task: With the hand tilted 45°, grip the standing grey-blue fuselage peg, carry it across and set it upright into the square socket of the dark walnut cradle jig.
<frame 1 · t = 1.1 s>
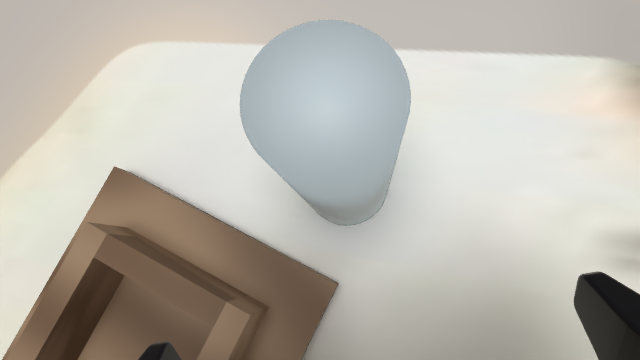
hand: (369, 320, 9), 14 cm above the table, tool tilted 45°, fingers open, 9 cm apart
cradle jig: (166, 339, 23), on the table
fuselage peg: (346, 184, 24), on the table
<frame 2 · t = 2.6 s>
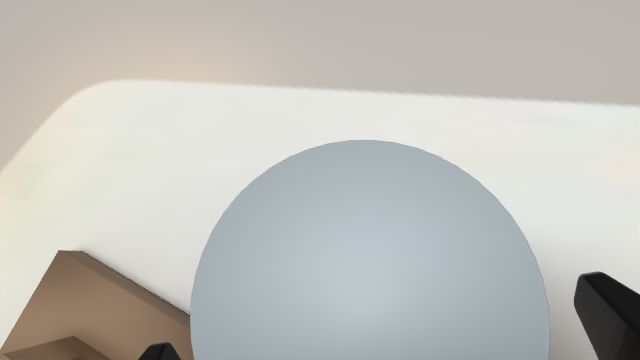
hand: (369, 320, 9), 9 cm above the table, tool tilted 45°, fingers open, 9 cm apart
fuselage peg: (365, 276, 18), on the table
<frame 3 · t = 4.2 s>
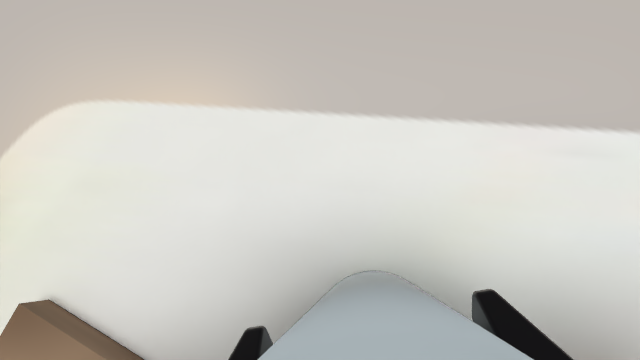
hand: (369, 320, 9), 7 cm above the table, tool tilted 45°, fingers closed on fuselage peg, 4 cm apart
fuselage peg: (375, 333, 16), on the table, touching gripper
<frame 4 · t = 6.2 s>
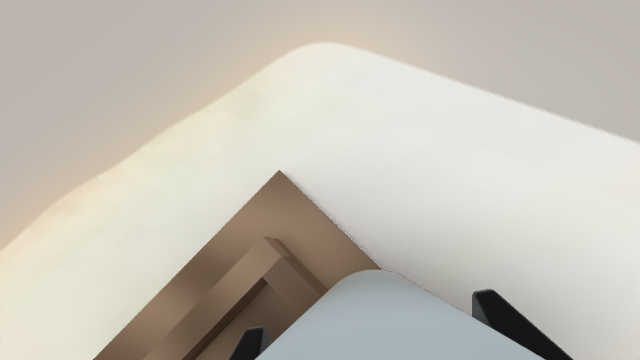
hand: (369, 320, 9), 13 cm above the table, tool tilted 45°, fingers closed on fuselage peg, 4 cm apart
fuselage peg: (376, 332, 16), point 7 cm above the table, touching gripper
when the fingers open (9 cm above the table, at t = 8.3 s): fuselage peg drops 1 cm, resting on cradle jig.
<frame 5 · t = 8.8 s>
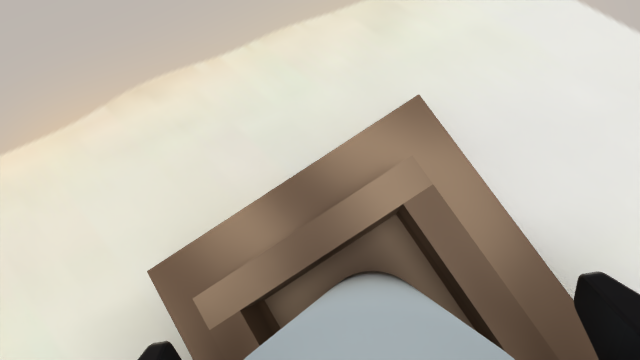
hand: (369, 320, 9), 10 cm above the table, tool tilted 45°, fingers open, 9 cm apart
cradle jig: (373, 321, 18), on the table
fuselage peg: (373, 328, 17), point 2 cm above the table, touching cradle jig
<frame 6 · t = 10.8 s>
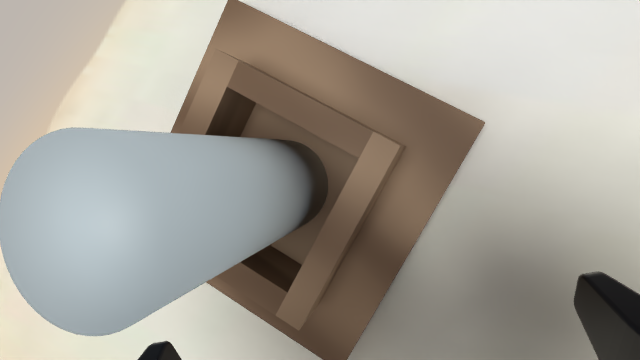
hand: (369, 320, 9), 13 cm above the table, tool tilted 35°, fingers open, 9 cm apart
cradle jig: (294, 180, 23), on the table
fuselage peg: (285, 184, 22), point 1 cm above the table, touching cradle jig
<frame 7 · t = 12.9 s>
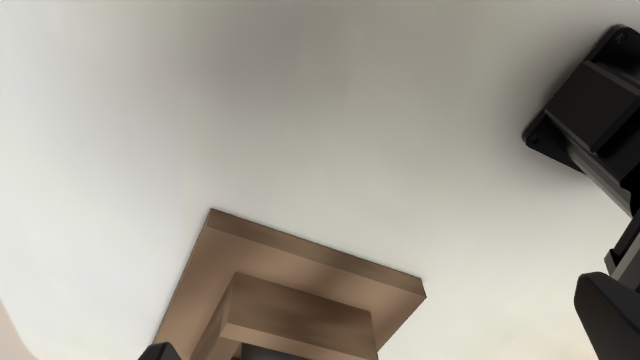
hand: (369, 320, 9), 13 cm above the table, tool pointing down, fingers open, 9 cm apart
cradle jig: (278, 316, 29), on the table
fuselage peg: (278, 335, 28), point 1 cm above the table, touching cradle jig
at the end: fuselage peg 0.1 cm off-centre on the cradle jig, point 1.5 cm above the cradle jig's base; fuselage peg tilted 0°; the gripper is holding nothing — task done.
